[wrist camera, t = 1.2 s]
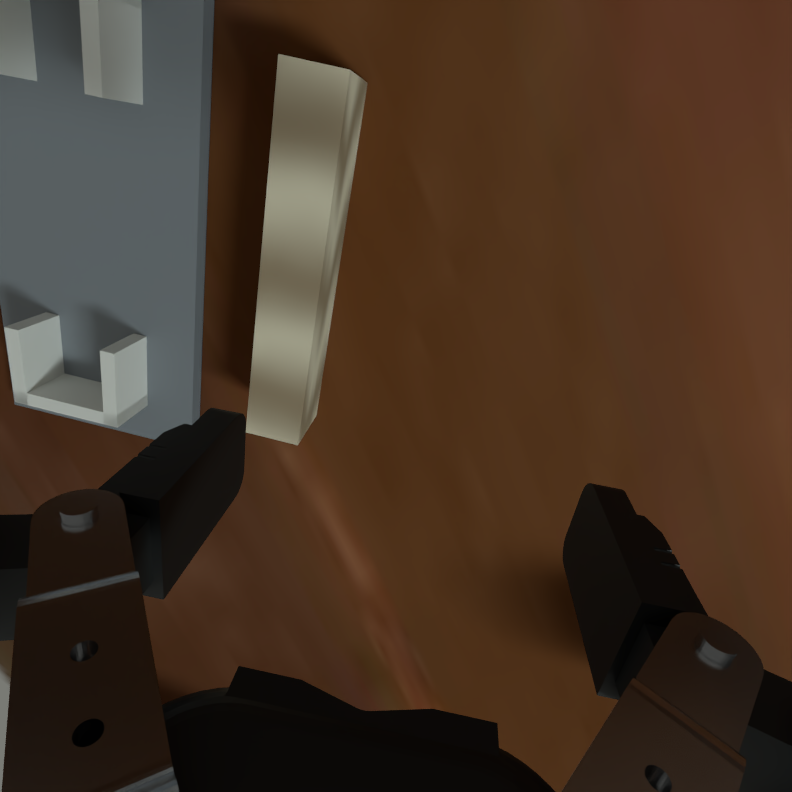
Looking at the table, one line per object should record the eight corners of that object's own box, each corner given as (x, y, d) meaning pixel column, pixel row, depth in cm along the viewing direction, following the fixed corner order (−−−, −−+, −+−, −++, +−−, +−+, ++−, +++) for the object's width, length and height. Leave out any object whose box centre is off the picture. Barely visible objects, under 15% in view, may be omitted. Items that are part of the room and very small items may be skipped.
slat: (307, 70, 24) (278, 53, 21) (368, 83, 24) (349, 69, 21) (271, 401, 32) (245, 432, 28) (317, 413, 32) (297, 445, 28)
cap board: (-41, -113, 23) (-137, -164, 19) (216, -59, 22) (167, -101, 19) (26, 397, 34) (-26, 425, 31) (198, 441, 34) (165, 474, 30)
